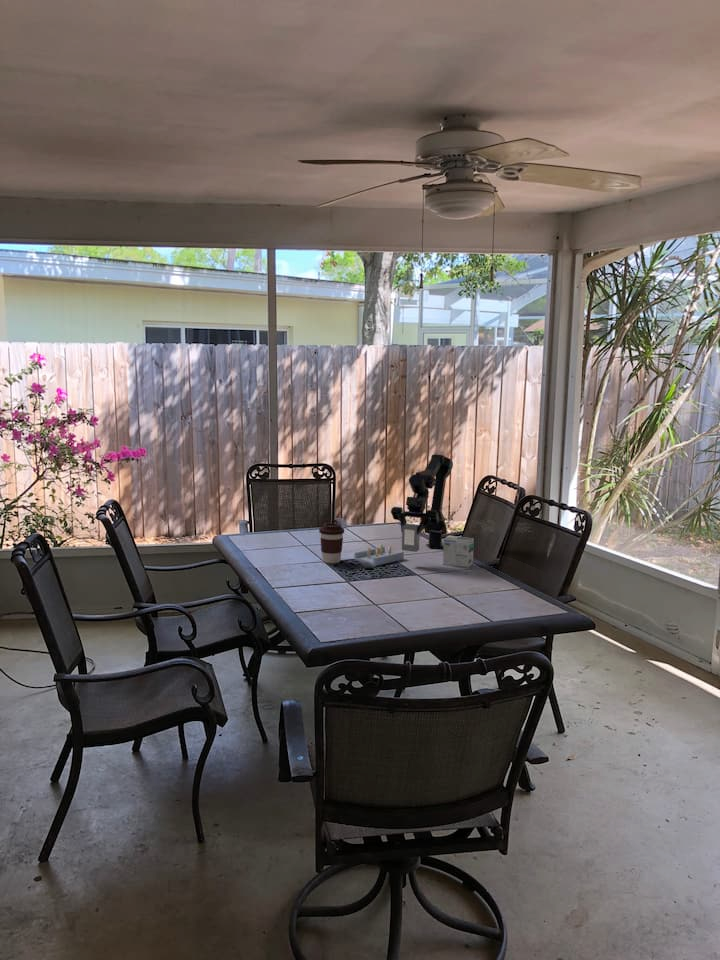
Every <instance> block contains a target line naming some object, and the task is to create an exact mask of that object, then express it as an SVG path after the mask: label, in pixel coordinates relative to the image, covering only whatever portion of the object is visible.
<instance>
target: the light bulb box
mask: <svg viewBox="0 0 720 960" xmlns="http://www.w3.org/2000/svg"><path fill="white" fill-rule="evenodd" d="M474 539H475V538H474V537H465V536H456V535H448V536H446V537H444V538H443V546H444V548H443V551H442V552H443V553H442V554H443V555H442V556H443V557H442V558H443V559H442V562H443V563H442V565H444V566H445V565H446V566H452V567H453V566H454V567H460V568H461V567H462V568H470V567H471V566H472V565H473V564H474V543H475V542H474Z"/></svg>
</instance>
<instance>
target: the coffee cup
mask: <svg viewBox="0 0 720 960" xmlns="http://www.w3.org/2000/svg"><path fill="white" fill-rule="evenodd" d="M318 531H319V534H320V539H319V540H320V551H321V560H322V562H323V563H325V564H338V563H340V562H341V561H342V560H341V559H342V557H341V555H342V551H343V543H344V542H343V540H344V538H343V534H344V533H345V528H344V527H342V525H341V524H340V523H336V522H326V523H324V524H323V525H322V526H321V527H319V529H318Z"/></svg>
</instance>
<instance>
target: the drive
mask: <svg viewBox="0 0 720 960" xmlns="http://www.w3.org/2000/svg"><path fill="white" fill-rule="evenodd" d="M418 527H419V524H413V523H406V524H404V525H402V532H401V551H403V552H404V551H405V552H414V553H417V552H418V551H420V538H421V537H420V534H421V532H420V533H419V534H417V530H418Z"/></svg>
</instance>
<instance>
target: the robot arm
mask: <svg viewBox="0 0 720 960" xmlns="http://www.w3.org/2000/svg"><path fill="white" fill-rule="evenodd" d="M453 464H454V461H453V459H451V457H450V458H449V457H446V456H445V455H443V454H432V455H431V457H430V460H429V462H428V463H427V466H425V469H424V470H422V471H419V472H417V471H416V472H415V474H413V475H411V476H410V477H409V479H408V482H409V485H410V489H411V491H412V493H413V495H412V496H407V497H406V502H405V506H406V507H407V508H406V509H407V510H408V511H407V510H404V509H403V507H401V506H393V507H392V508H391V509H390V513H391V516H392V518H393V519H394V520H396V521H399V522H400V531H401V533H402V525H404V524H407V517H409V518H416V519H417V518H419V519H420V522H419V524H418V525H419V527H418V530H417V534H419V533H420V534H421V532H422V531H423V530H424V533H425V534H428V543H426V544H425V545H426V547H428V548H429V549H444V544H442V543H443V536H444V535H447V531H448V528H447V523H446V521H445V516H444V514H443V511H442V510H443V503H444V496H445V488H446V481H447V479H448V477H450V475H451V472H452V470H453V468H454V465H453ZM429 489H430V490H432V489H433V492H432V493H433V494H432V502H431V508H430V509H427V510H426V505H427V500H428V498H430V496H429V495H430V491H429ZM425 510H426V512H425Z"/></svg>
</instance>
